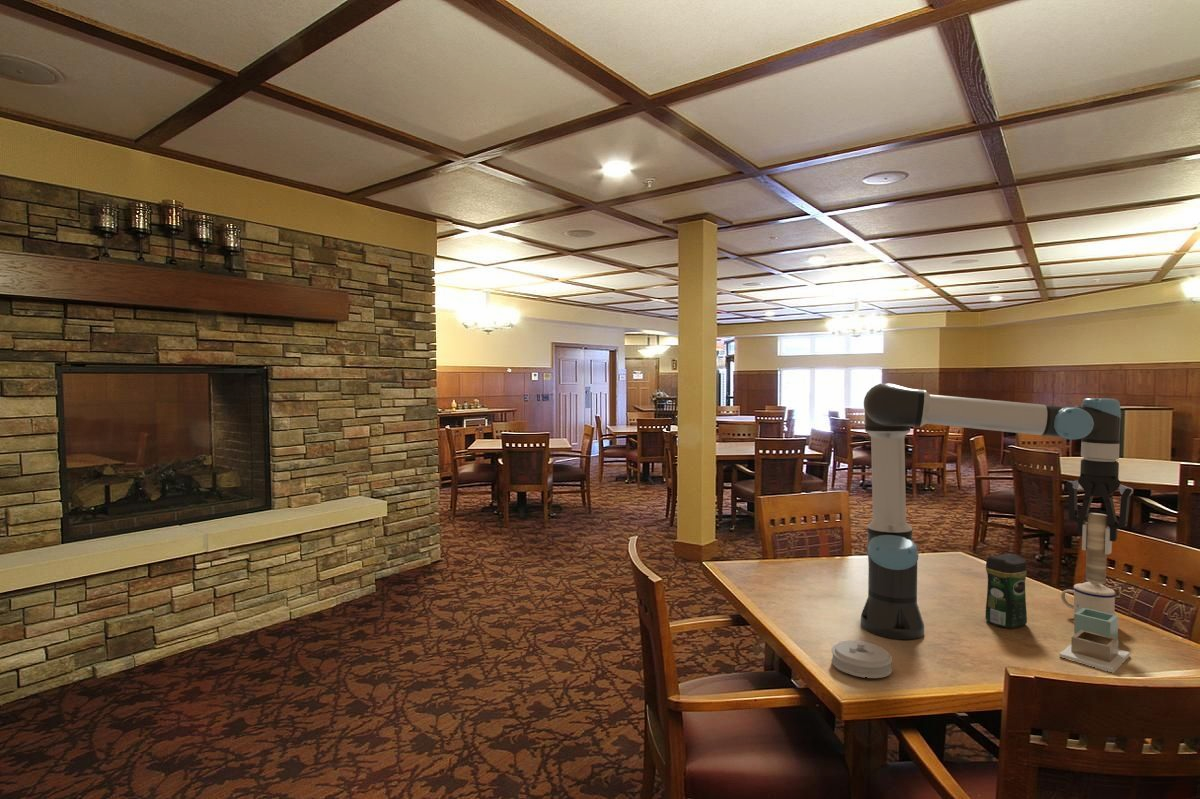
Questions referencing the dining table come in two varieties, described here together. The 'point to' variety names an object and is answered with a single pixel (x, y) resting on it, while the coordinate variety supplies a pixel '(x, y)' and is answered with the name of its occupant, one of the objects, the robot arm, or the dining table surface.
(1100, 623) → the pen pot
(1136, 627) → the dining table surface
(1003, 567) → the coffee jar
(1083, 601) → the teacup with lid
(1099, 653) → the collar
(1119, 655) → the board
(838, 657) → the lid
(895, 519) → the robot arm
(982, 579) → the dining table surface
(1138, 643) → the dining table surface
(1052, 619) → the dining table surface
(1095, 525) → the dowel
